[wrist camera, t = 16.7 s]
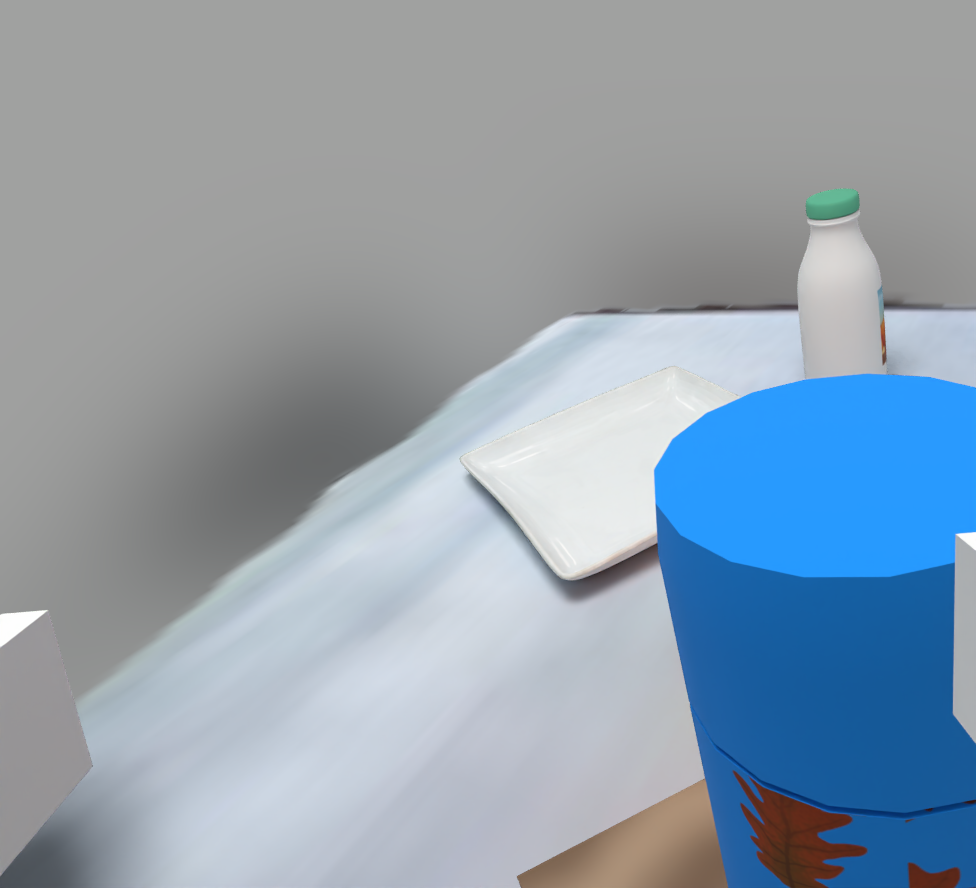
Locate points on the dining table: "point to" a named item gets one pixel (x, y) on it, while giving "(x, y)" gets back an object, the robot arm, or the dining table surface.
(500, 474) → the square plate
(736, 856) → the thermos
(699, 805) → the walnut riser
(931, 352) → the dining table surface
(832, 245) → the milk bottle
